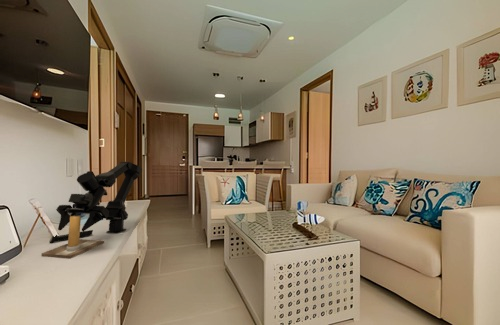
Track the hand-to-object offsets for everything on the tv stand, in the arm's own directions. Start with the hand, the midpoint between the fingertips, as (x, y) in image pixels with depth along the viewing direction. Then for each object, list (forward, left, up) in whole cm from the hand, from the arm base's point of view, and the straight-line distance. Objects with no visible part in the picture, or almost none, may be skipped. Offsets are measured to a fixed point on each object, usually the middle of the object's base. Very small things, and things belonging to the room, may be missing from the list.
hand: (70, 230), depth 83 cm
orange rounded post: (-1, 0, -8) cm, 8 cm away
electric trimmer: (-15, -15, -10) cm, 23 cm away
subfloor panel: (-4, -2, -9) cm, 10 cm away
